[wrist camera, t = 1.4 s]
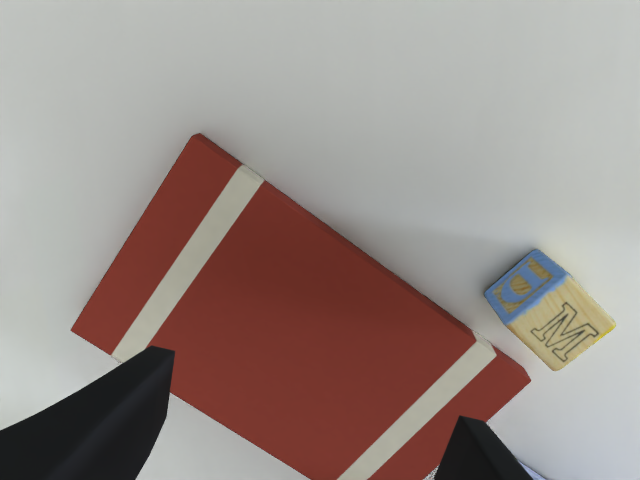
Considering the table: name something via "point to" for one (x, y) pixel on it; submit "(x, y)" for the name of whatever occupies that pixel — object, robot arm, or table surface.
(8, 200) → the table surface
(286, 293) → the towel
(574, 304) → the alphabet block
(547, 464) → the table surface
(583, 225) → the table surface
